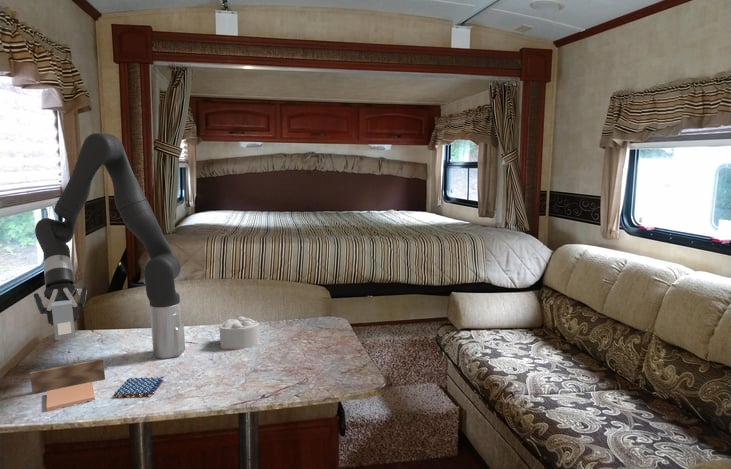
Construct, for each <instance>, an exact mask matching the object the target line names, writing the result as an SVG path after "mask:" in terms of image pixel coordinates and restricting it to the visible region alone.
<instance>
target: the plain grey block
mask: <svg viewBox="0 0 731 469" xmlns="http://www.w3.org/2000/svg"><path fill="white" fill-rule="evenodd" d="M52 315H53V324H54V325H53V330H54V340H55V341H59V340H63V339H64V340H65V339H70V338H71V339H72V338H75V337H76V330H75V329H76V328H75V322H74V318H73V309H72V300H71V301H69V300H63V301H56V302H54V303H52Z"/></svg>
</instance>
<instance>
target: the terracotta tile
mask: <svg viewBox="0 0 731 469" xmlns="http://www.w3.org/2000/svg"><path fill="white" fill-rule="evenodd" d="M94 391H95V390H94V385H93V382H88V383H83V384H79V385H74V386H69V387H64V388H60V389H55V390H50V391H46V412H49V411H54V410H59V409H58V408H60V409H63V408H62V407H64V408H67V407H66V406H69V407H71V406H70V405H73V406H75V405H74V404H77V405H80V404H79V403H82V404H84V403H83V402H86V403H88V402H87V401H91V402H93V401H92V400H95V401H96V398H95V397H96V395H95V392H94Z"/></svg>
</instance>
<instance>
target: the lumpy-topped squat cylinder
mask: <svg viewBox="0 0 731 469" xmlns="http://www.w3.org/2000/svg"><path fill="white" fill-rule="evenodd" d="M260 341H261V339H260V323H259V322H258V321H257V320H253V319H251V318H250V317H249V318H247V317H245V316H238V317H236V318H228V319H225V321H223V322H222V324H221V325H220V326H219V342H220V349H224V350H242V349H243V350H244V349H248V348H253V347H255V346H256V347H257V346H258V345H259V344H260Z"/></svg>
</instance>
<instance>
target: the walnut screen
mask: <svg viewBox="0 0 731 469" xmlns="http://www.w3.org/2000/svg"><path fill="white" fill-rule="evenodd" d="M29 375H30V383H31V384H30V385H31V392H32V393H31V394H32V395H35V394H40V393H45V392H46V393H47V391H50V390H55V389H60V388H64V387H69V386H74V385H79V384H83V383H88V382H92V383H93V382H99V381H103V380H106V374H105V364H104V358H97V359H93V360H88V361H83V362H76V363H72V364H67V365H61V366H57V367H52V368H45V369H40V370H35V371H31V372H29Z"/></svg>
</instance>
